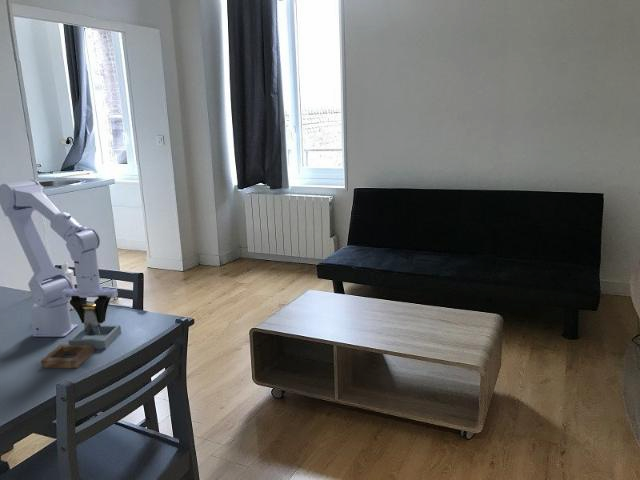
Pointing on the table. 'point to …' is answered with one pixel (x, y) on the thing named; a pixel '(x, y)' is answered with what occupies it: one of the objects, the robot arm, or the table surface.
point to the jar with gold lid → (91, 319)
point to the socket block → (56, 362)
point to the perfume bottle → (70, 275)
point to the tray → (97, 337)
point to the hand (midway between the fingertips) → (93, 321)
